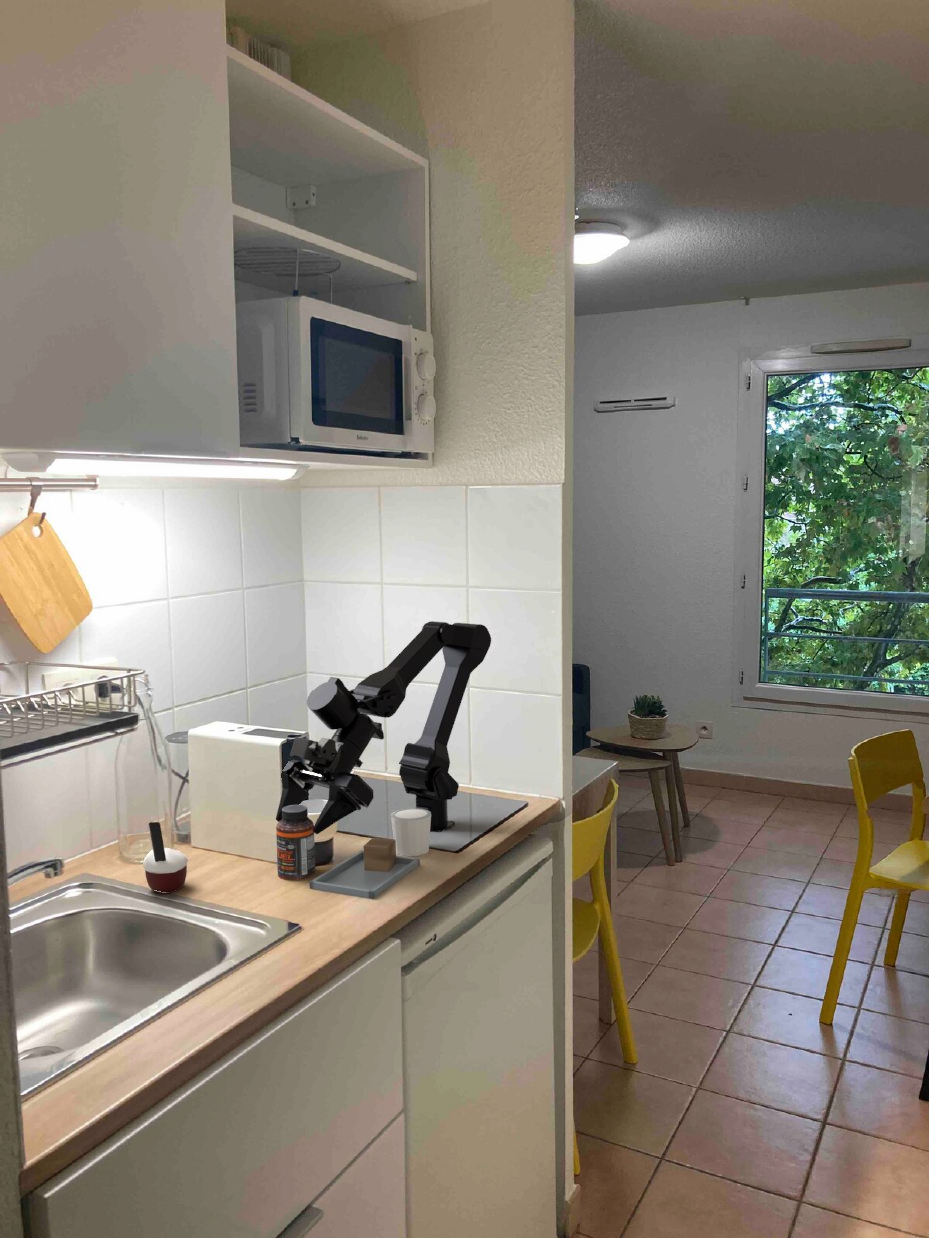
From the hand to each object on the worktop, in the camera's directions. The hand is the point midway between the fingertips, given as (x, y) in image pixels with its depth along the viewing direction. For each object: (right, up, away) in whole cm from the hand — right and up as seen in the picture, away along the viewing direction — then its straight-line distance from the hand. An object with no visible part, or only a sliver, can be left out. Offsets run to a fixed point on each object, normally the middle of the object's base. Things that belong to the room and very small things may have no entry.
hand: (295, 826), depth 157 cm
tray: (+11, -8, -1) cm, 14 cm away
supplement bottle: (0, -8, +1) cm, 8 cm away
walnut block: (+13, -7, +3) cm, 15 cm away
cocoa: (-20, -9, -3) cm, 22 cm away
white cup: (+18, -7, +11) cm, 22 cm away
